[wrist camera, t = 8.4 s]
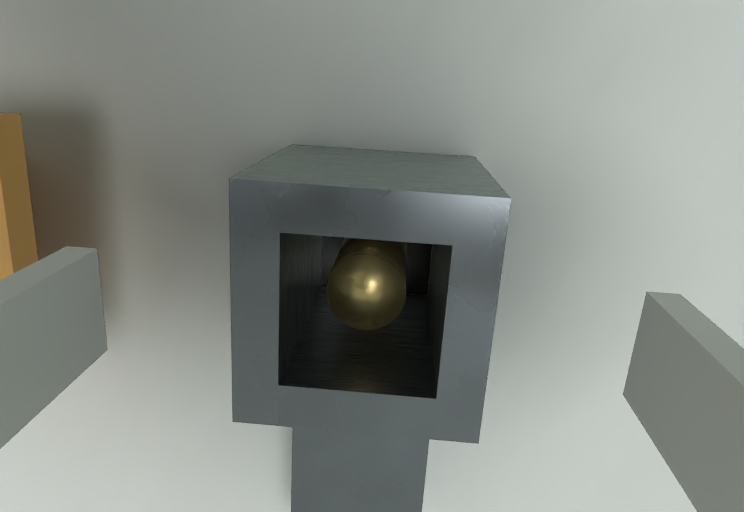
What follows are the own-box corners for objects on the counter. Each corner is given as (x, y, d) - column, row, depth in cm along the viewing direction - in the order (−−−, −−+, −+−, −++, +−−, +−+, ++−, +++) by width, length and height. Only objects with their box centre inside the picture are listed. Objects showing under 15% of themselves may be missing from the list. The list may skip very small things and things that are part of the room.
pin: (348, 208, 22) (327, 251, 17) (408, 212, 22) (409, 257, 17) (345, 265, 23) (324, 326, 17) (404, 270, 23) (402, 332, 17)
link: (435, 508, 26) (446, 682, 19) (285, 494, 27) (236, 660, 19) (474, 157, 22) (511, 198, 14) (292, 144, 22) (228, 178, 14)
